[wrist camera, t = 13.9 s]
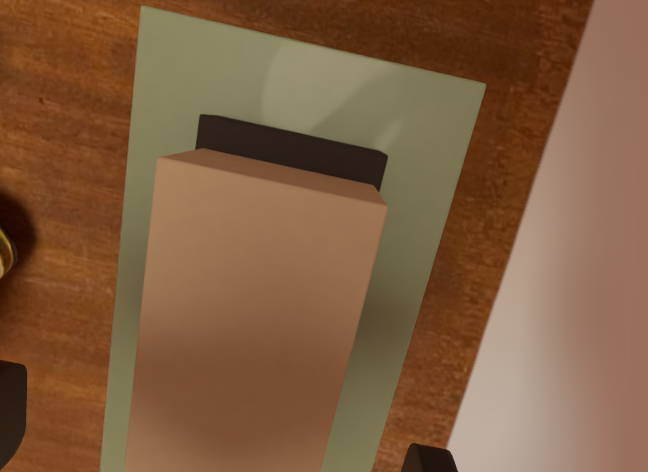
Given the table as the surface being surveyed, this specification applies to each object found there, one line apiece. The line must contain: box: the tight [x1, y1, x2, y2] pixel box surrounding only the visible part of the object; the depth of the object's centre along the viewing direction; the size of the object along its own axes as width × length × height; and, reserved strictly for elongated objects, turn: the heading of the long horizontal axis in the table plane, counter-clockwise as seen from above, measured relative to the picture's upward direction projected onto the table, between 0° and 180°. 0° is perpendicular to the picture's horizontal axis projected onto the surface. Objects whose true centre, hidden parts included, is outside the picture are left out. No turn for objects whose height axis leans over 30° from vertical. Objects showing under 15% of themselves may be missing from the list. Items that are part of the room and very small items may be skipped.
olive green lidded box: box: [100, 5, 486, 472], centre depth 22 cm, size 20×12×10 cm, turn 168°
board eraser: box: [124, 114, 388, 472], centre depth 14 cm, size 14×6×6 cm, turn 168°
